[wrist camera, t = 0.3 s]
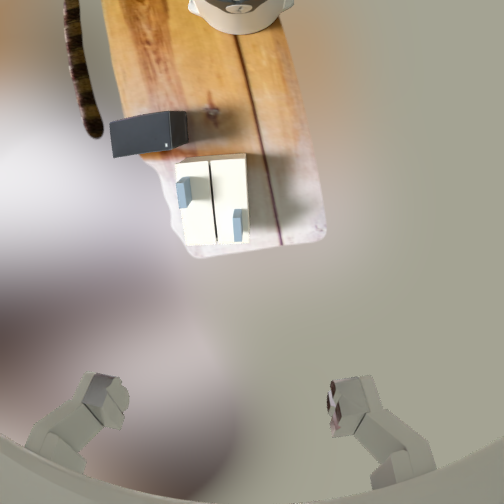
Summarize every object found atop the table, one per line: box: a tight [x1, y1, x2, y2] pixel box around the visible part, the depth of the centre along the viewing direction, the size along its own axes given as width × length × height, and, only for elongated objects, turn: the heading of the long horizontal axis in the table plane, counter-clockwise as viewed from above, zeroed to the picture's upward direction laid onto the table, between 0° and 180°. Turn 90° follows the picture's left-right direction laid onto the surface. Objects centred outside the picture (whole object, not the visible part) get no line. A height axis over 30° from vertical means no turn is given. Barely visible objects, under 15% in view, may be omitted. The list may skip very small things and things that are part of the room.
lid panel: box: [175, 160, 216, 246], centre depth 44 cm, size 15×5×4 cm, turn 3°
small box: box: [110, 111, 189, 158], centre depth 42 cm, size 11×6×10 cm, turn 92°
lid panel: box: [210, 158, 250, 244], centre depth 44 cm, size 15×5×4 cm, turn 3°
